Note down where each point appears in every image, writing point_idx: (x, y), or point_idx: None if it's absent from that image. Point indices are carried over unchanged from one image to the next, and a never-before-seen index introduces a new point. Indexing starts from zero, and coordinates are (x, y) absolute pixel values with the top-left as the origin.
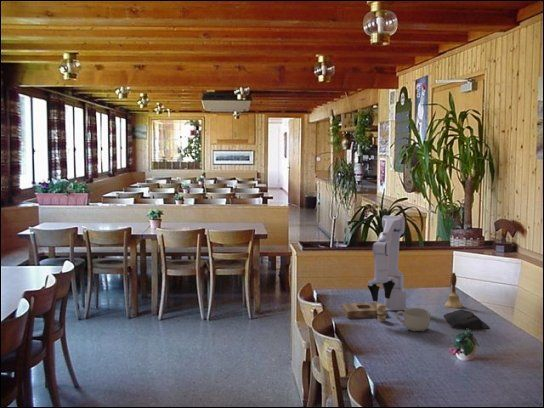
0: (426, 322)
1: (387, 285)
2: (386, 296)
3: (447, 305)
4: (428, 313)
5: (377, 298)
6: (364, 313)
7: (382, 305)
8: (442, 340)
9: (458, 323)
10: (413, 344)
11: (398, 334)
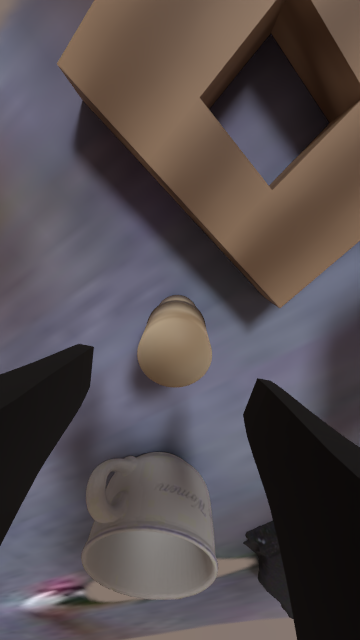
0: (142, 550)
1: (337, 594)
2: (257, 405)
3: None
4: (194, 573)
5: (69, 414)
6: (171, 192)
7: (170, 367)
8: None
9: (268, 560)
10: (16, 518)
11: (60, 454)
